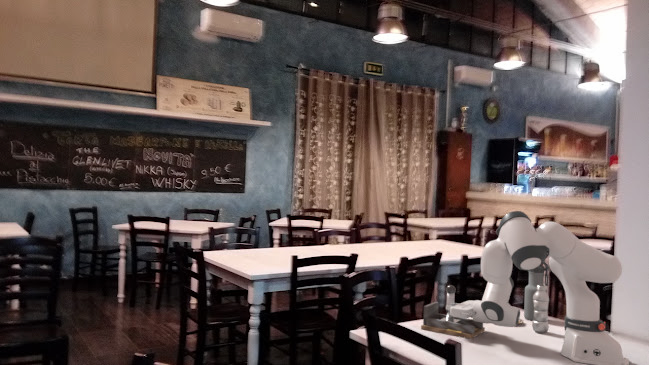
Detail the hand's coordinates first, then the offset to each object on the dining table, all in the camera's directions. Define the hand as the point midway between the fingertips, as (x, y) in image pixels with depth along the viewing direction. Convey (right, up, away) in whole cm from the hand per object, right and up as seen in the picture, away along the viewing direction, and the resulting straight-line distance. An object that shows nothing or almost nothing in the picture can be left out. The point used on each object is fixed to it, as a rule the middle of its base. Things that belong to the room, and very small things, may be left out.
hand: (448, 306), depth 233 cm
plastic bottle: (+39, -11, 0) cm, 41 cm away
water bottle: (+46, -12, +23) cm, 53 cm away
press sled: (0, -8, -1) cm, 8 cm away
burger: (+31, -11, +14) cm, 36 cm away
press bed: (+2, -10, -1) cm, 10 cm away
